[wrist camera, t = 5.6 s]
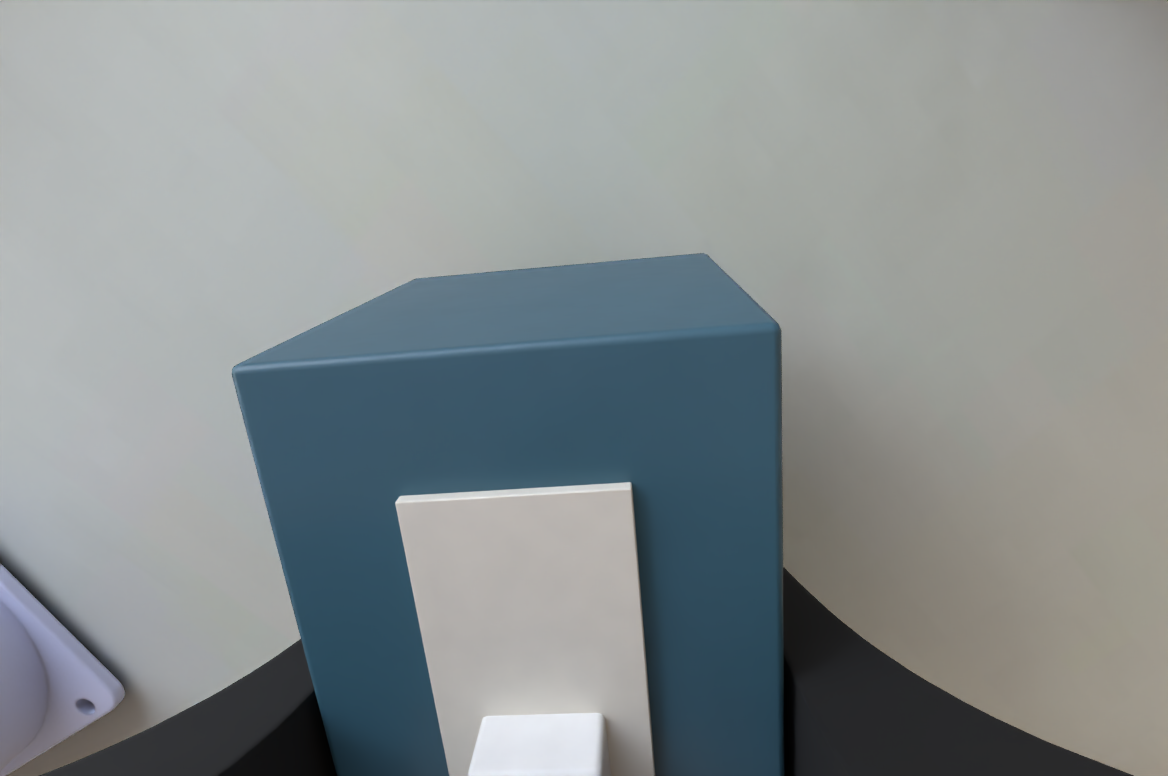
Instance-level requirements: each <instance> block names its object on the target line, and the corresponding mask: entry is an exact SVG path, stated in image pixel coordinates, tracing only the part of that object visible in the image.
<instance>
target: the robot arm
mask: <svg viewBox="0 0 1168 776" xmlns="http://www.w3.org/2000/svg"><path fill="white" fill-rule="evenodd" d="M783 636H784V776H1133V775H1131V774H1128V773H1125V772H1123V771H1120V770H1118V769H1115V768H1113V767H1110V766H1107V765H1105V764H1102V763H1100V762H1097V761H1095V760H1092V759H1089V758H1087V757H1084V756H1082V755H1079V754H1077V753H1074V752H1071V751H1069V750H1066V749H1064V748H1061V747H1059V746H1056V745H1053V744H1051V743H1049V742H1046V741H1044V740H1042V739H1040V738H1037V737H1035V736H1033V735H1031V734H1029V733H1027V732H1024V731H1022V730H1020V729H1018V728H1016V727H1014V726H1011V725H1009V724H1007V723H1005V722H1003V721H1001V720H998V719H996V718H994V717H992V716H990V715H988V714H986V713H984V712H982V711H980V710H979V709H977V708H975V707H973V706H971V705H969V704H967V703H965V702H963V701H961V700H960V699H958V698H956V697H954V696H953V695H951V694H949V693H947V692H945V691H944V690H942V689H940V688H938V687H936V686H935V685H933V684H931V683H929V682H928V681H926V680H924V679H923V678H921V677H920V676H918V675H916V674H915V673H913V672H911V671H910V670H908V669H907V668H905V667H904V666H902V665H901V664H899V663H898V662H896V661H895V660H893V659H892V658H890V657H889V656H887V655H886V654H884V653H883V652H881V651H880V650H878V649H877V648H876V647H874V646H873V645H871V644H870V643H869V642H867V641H866V640H865V639H863V638H862V637H861V636H859V635H858V634H857V633H856V632H854V631H853V630H852V629H851V628H849V627H848V626H847V625H846V624H844V623H843V622H842V621H841V620H839V619H838V618H837V617H836V616H835V615H834V614H832V613H831V612H830V611H829V610H828V609H827V608H826V607H825V606H823V605H822V604H821V603H820V602H819V601H818V600H817V599H816V598H815V597H814V596H813V595H811V594H810V593H809V592H808V591H807V590H806V589H805V588H804V587H803V586H802V585H801V584H800V583H799V582H798V581H797V580H796V579H795V578H794V577H793V576H792V575H791V574H790V573H789V572H788V571H787V570H786V569H785V568H784V567H783ZM124 696H125V691H124V687H123V685H122V684H121V683H120V681H119V680H118V679H117V678H116V677H115V676H114V675H113V674H112V673H111V672H110V671H109V670H108V669H107V668H106V667H105V666H103V665H102V664H101V663H100V662H99V661H98V660H97V659H96V658H95V657H94V656H93V655H92V654H91V653H90V652H89V651H88V650H87V649H86V648H85V647H84V646H83V645H82V644H81V643H80V642H79V641H78V640H77V639H76V638H75V637H74V636H73V635H72V634H71V633H70V632H69V631H68V630H67V629H66V628H65V627H64V626H63V625H62V624H61V623H60V622H59V621H58V620H57V619H56V618H55V617H54V616H53V615H52V614H51V613H50V612H49V611H48V610H47V609H46V608H45V607H44V606H43V605H42V604H41V603H40V602H39V601H38V600H37V599H36V598H35V597H34V596H33V595H32V594H31V593H30V592H29V591H28V590H27V589H26V588H25V587H24V586H23V585H22V584H21V583H20V582H19V581H18V580H17V579H16V578H15V577H14V576H13V575H12V574H11V573H10V572H9V571H8V570H7V569H6V568H5V567H4V566H3V565H2V564H1V563H0V776H6V775H8V774H10V773H11V772H13V771H14V770H16V769H18V768H19V767H21V766H23V765H24V764H26V763H27V762H29V761H31V760H32V759H34V758H36V757H37V756H39V755H41V754H42V753H44V752H45V751H47V750H49V749H50V748H52V747H54V746H55V745H57V744H58V743H60V742H62V741H63V740H65V739H67V738H68V737H70V736H72V735H73V734H75V733H76V732H78V731H80V730H81V729H83V728H85V727H86V726H88V725H89V724H91V723H93V722H94V721H96V720H98V719H99V718H101V717H103V716H104V715H106V714H107V713H109V712H111V711H112V710H113V709H114V708H115V707H116V706H117V705H118V704H119V703H120V702H121V701H122V700H123V699H124ZM40 776H337V774H336V770H335V766H334V762H333V758H332V755H331V751H330V747H329V743H328V739H327V736H326V732H325V728H324V724H323V720H322V717H321V713H320V709H319V705H318V701H317V697H316V694H315V690H314V686H313V682H312V678H311V675H310V671H309V667H308V663H307V659H306V656H305V652H304V648H303V644H302V640H301V639H300V640H299V641H297V642H296V643H294V644H293V645H292V646H290V647H289V648H287V649H286V650H285V651H283V652H282V653H280V654H279V655H278V656H276V657H275V658H273V659H272V660H270V661H269V662H267V663H266V664H264V665H262V666H261V667H259V668H258V669H256V670H255V671H253V672H251V673H250V674H248V675H247V676H245V677H243V678H242V679H240V680H238V681H237V682H235V683H233V684H232V685H230V686H228V687H227V688H225V689H223V690H222V691H220V692H218V693H216V694H215V695H213V696H211V697H209V698H207V699H205V700H203V701H202V702H200V703H198V704H196V705H194V706H192V707H190V708H188V709H186V710H184V711H182V712H180V713H179V714H177V715H175V716H173V717H171V718H169V719H167V720H165V721H163V722H161V723H159V724H158V725H156V726H154V727H152V728H150V729H147V730H145V731H143V732H141V733H139V734H137V735H135V736H132V737H130V738H128V739H126V740H124V741H122V742H119V743H117V744H115V745H113V746H111V747H108V748H106V749H104V750H101V751H99V752H97V753H94V754H92V755H90V756H87V757H85V758H83V759H80V760H78V761H75V762H73V763H71V764H68V765H66V766H63V767H61V768H58V769H56V770H53V771H50V772H48V773H45V774H42V775H40Z"/></svg>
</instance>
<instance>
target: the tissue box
mask: <svg viewBox="0 0 1168 776" xmlns="http://www.w3.org/2000/svg"><path fill="white" fill-rule="evenodd" d="M232 377H233V381H234V385H235V389H236V393H237V396H238V400H239V404H240V408H241V412H242V415H243V419H244V423H245V427H246V431H247V435H248V438H249V442H250V446H251V450H252V454H253V457H254V461H255V465H256V469H257V473H258V476H259V480H260V484H261V488H262V492H263V495H264V499H265V503H266V507H267V511H268V515H269V518H270V522H271V526H272V530H273V534H274V537H275V541H276V545H277V549H278V553H279V556H280V560H281V564H282V568H283V572H284V576H285V579H286V583H287V587H288V591H289V595H290V598H291V602H292V606H293V610H294V614H295V617H296V621H297V625H298V629H299V633H300V636H301V640H302V644H303V648H304V652H305V656H306V659H307V663H308V667H309V671H310V675H311V678H312V682H313V686H314V690H315V694H316V697H317V701H318V705H319V709H320V713H321V717H322V720H323V724H324V728H325V732H326V736H327V739H328V743H329V747H330V751H331V755H332V758H333V762H334V766H335V770H336V774H337V776H784V636H783V495H782V354H781V329H780V327H779V324H778V323H777V322H776V321H775V320H774V319H773V318H772V317H771V316H770V315H769V314H768V313H767V312H766V311H765V310H764V309H763V308H762V307H760V306H759V305H758V304H757V303H756V302H755V301H754V300H753V299H752V298H751V297H750V296H749V295H748V294H747V293H746V292H745V291H744V290H743V289H742V288H741V287H740V286H739V285H738V284H737V283H736V282H735V281H734V280H733V279H732V278H731V277H730V276H728V275H727V274H726V273H725V272H724V271H723V270H722V269H721V268H720V267H719V266H718V265H717V264H716V263H715V262H714V261H713V260H712V259H711V258H710V257H709V256H708V255H707V254H704V253H700V254H688V255H677V256H666V257H655V258H643V259H632V260H621V261H609V262H598V263H587V264H576V265H564V266H553V267H542V268H531V269H519V270H508V271H497V272H485V273H474V274H463V275H452V276H440V277H429V278H418V279H414V280H412V281H410V282H408V283H406V284H403V285H401V286H399V287H397V288H395V289H393V290H391V291H389V292H387V293H385V294H383V295H381V296H379V297H376V298H374V299H372V300H370V301H368V302H366V303H364V304H362V305H360V306H358V307H356V308H354V309H352V310H349V311H347V312H345V313H343V314H341V315H339V316H337V317H335V318H333V319H331V320H329V321H327V322H325V323H322V324H320V325H318V326H316V327H314V328H312V329H310V330H308V331H306V332H304V333H302V334H300V335H297V336H295V337H293V338H291V339H289V340H287V341H285V342H283V343H281V344H279V345H277V346H275V347H273V348H270V349H268V350H266V351H264V352H262V353H260V354H258V355H256V356H254V357H252V358H250V359H248V360H246V361H243V362H241V363H239V364H238V365H236V366H234V367H233V369H232Z"/></svg>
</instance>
